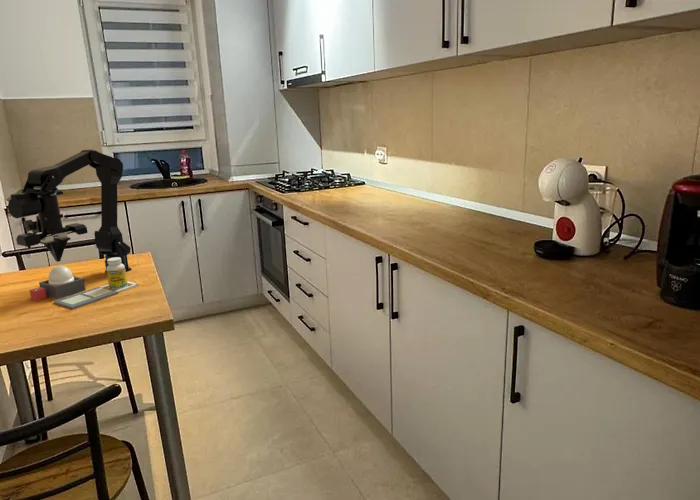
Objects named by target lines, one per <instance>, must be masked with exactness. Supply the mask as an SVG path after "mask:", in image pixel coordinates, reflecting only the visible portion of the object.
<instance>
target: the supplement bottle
mask: <svg viewBox="0 0 700 500" xmlns="http://www.w3.org/2000/svg"><path fill="white" fill-rule="evenodd" d="M121 262H122V261H121V258H120V257H114V258H109V259H108V260H107V263H108V264H109V265H108V266H107V268H106V267H105V270H107V272H106V276H107V282H108V284H109V287H108V289H110V290H114V291H116V290H119V289H122V288H125V287H128V286H129V285H128V284H127V281H128V280H127V271H125V266H124V265H123V264H122V263H121Z"/></svg>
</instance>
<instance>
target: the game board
mask: <svg viewBox="0 0 700 500" xmlns="http://www.w3.org/2000/svg"><path fill="white" fill-rule="evenodd" d="M127 284H128V286H127V287H125V288H122V289H119V290H111V289H110V288H109V283H108V284H106V285H105V284H104V285H102V286H97V287H94V288H91V289H87V290H84V291H81V292H78V293H75V294H71V295H68V296H65V297H62V298H59V299H56V300H53V304H55V305H58V306H61V307H65V308H69V309H71V310H75V309H78V308H80V307H84V306H87V305H89V304H92V303H95V302H98V301H101V300H103V299H107V298H110V297H113V296H116V295H118V294H119V293H121V292H125V291H127V290H130V289H134V288H136V287H139V286H140V284H139V283H136V282H133V281H129V280H127Z"/></svg>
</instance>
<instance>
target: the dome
mask: <svg viewBox="0 0 700 500" xmlns="http://www.w3.org/2000/svg"><path fill="white" fill-rule="evenodd" d="M73 276H74V275H73V273H72V270H71V269H70V268H68V267H67V266H64V265H58V266H55V267H53V268H52V269H51V270H50V271H49V273H48V280H49V281H48V282H49V284H51V285H54V286H58V285H61V284H65V283H68V282H71V281H74V277H73Z"/></svg>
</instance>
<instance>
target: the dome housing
mask: <svg viewBox="0 0 700 500" xmlns="http://www.w3.org/2000/svg"><path fill="white" fill-rule="evenodd" d="M72 276H73V277H74V281H71V282H68V283H65V284H61V285H58V286H54V285H51V284H49V282H48V281H49V279H46V280H43V281H39V282H38V284H39V286H37V287H35V288H31V289H29V294H30V295H29V296H30V299H31V300H32V301H35V302H38V301H41V300H45V299H48V297H49V298H53V299H56V300H59V299H62V298H65V297H68V296H71V295H74V294H77V293H80V292H84V291H87V290H86V284H85V280H84V279H85V278H83V277H79V276H75V275H72Z"/></svg>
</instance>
